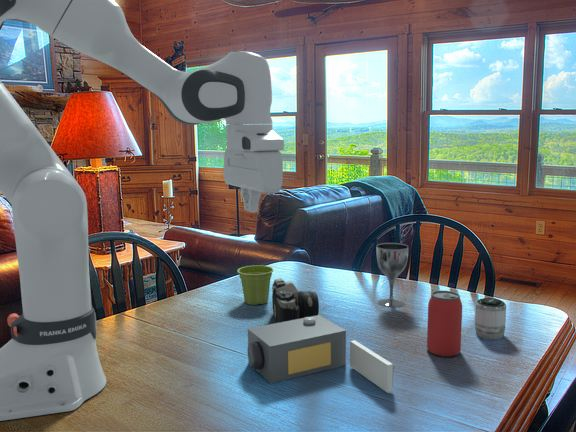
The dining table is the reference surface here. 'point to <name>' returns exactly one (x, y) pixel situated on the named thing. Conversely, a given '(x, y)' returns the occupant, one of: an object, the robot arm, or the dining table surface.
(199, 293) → the dining table surface
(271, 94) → the robot arm
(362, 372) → the side door
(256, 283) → the plant pot
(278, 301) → the camera
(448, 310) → the beer can
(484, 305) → the camera lens
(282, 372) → the block
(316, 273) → the dining table surface
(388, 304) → the wine glass
